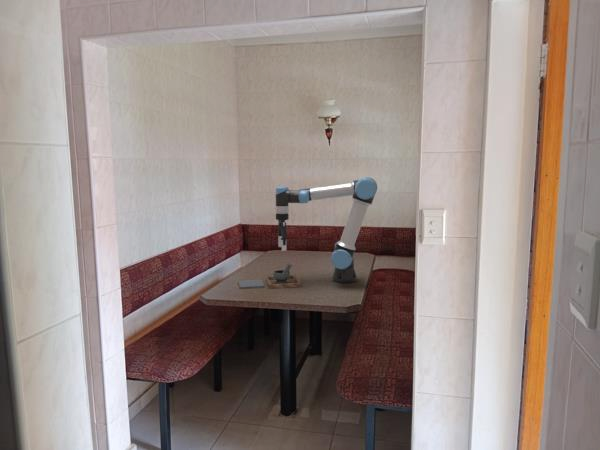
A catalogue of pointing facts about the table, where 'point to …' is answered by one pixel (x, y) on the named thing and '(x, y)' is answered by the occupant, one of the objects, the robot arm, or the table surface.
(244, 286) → the rubber mat
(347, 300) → the table surface
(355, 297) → the table surface
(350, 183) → the robot arm
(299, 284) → the frame
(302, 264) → the table surface
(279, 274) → the mortar and pestle
